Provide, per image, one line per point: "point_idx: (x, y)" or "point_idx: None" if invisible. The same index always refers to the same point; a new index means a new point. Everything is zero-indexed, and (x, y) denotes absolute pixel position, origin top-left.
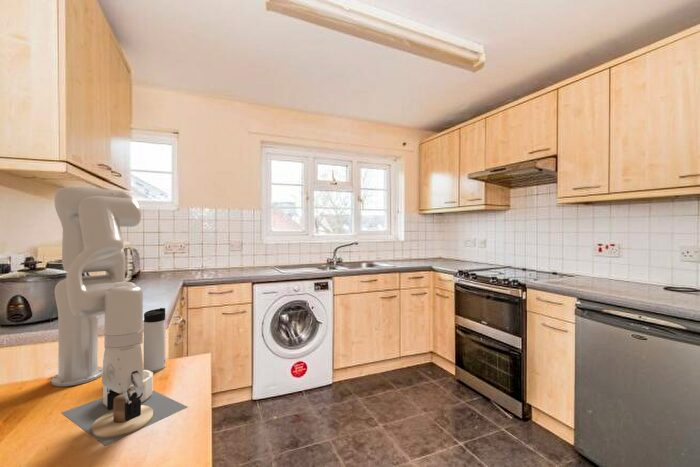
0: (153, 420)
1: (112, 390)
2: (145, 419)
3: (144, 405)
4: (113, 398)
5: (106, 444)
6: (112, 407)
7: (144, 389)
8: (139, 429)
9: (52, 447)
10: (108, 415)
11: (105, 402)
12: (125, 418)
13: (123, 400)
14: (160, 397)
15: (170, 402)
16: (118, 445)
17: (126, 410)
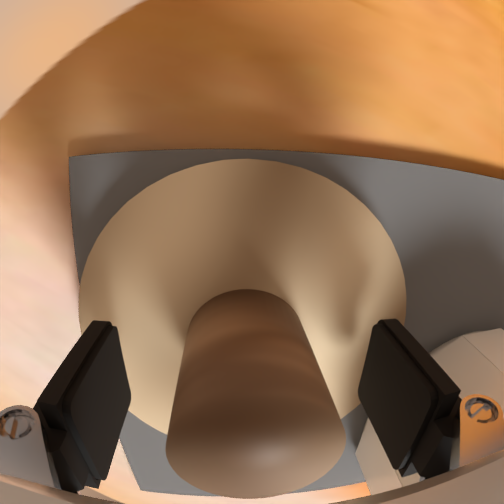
0: None
1: (441, 438)
2: None
3: None
4: (400, 393)
5: (74, 165)
6: (375, 346)
7: (371, 490)
8: None
9: (349, 12)
10: (373, 303)
11: (491, 337)
12: (91, 326)
13: (179, 436)
14: (321, 481)
15: None
16: (54, 211)
17: (66, 366)
